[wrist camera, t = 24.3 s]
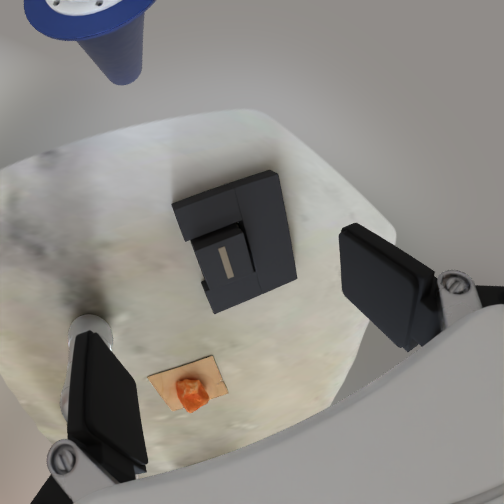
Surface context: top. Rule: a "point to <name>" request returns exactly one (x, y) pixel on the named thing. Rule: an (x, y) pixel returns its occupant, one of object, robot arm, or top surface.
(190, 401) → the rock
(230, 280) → the dark grey square block
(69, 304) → the top surface
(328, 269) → the top surface
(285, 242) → the dark grey u-shaped block
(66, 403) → the plastic bottle
